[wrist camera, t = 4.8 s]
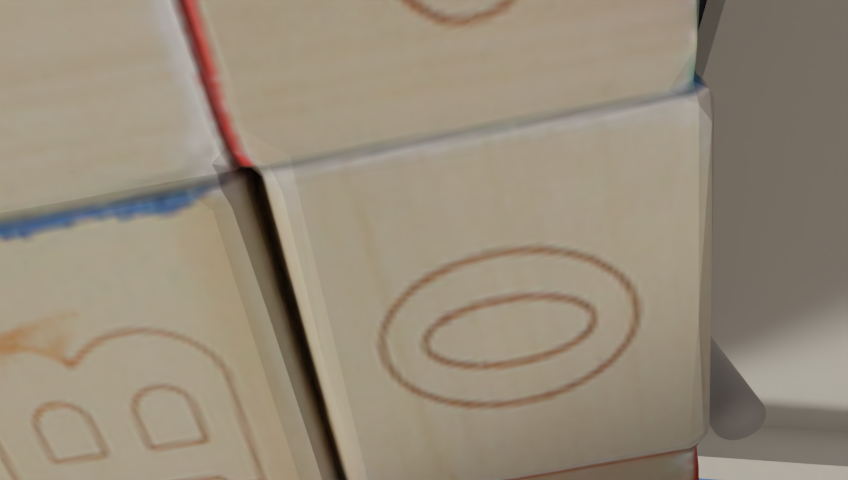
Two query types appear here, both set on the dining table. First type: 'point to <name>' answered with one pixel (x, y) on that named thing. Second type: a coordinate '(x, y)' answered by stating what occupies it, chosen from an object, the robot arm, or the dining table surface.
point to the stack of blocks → (354, 240)
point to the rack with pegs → (778, 239)
